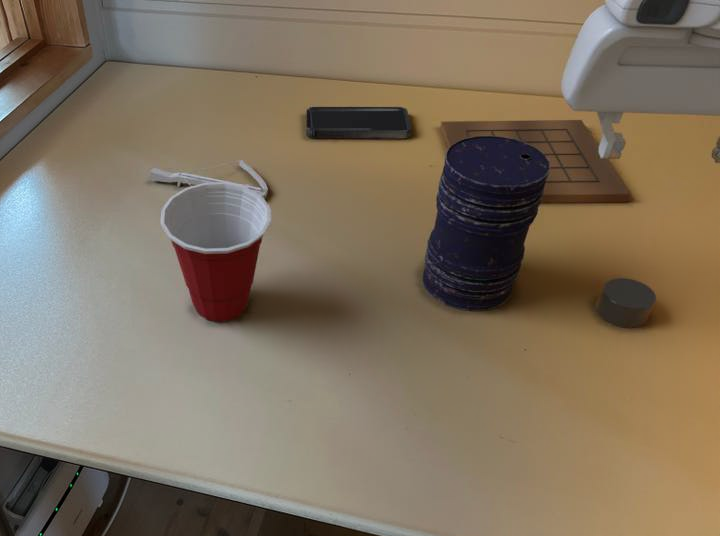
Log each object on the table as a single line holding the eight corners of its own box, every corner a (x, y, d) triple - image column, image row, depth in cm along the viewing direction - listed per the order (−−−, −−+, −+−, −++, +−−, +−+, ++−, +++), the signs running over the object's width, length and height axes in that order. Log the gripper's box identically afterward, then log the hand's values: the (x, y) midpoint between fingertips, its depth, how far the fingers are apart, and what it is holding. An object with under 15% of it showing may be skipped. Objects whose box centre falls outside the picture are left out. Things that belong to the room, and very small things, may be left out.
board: (578, 127, 103) (581, 118, 102) (627, 202, 89) (631, 193, 88) (439, 129, 104) (441, 120, 103) (466, 203, 90) (468, 194, 89)
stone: (636, 296, 76) (645, 277, 74) (654, 328, 72) (664, 308, 71) (588, 296, 76) (596, 277, 74) (604, 328, 73) (613, 308, 71)
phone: (306, 106, 108) (406, 106, 107) (306, 113, 108) (405, 113, 107) (306, 131, 102) (412, 131, 101) (306, 138, 103) (411, 138, 102)
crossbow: (278, 177, 97) (279, 164, 96) (252, 228, 88) (252, 214, 87) (169, 156, 100) (168, 143, 99) (133, 203, 91) (132, 190, 90)
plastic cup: (180, 348, 72) (168, 252, 64) (164, 284, 80) (152, 190, 71) (283, 330, 74) (284, 233, 65) (258, 268, 81) (256, 175, 73)
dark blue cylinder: (439, 317, 75) (467, 192, 64) (408, 261, 81) (429, 141, 71) (529, 304, 76) (571, 180, 65) (491, 251, 82) (523, 130, 72)
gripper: (871, -25, 53) (779, 145, 63) (586, -27, 56) (539, 136, 66) (915, 4, 49) (808, 182, 59) (603, 0, 52) (550, 171, 61)
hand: (664, 158), depth 62 cm, fingers open, 8 cm apart
